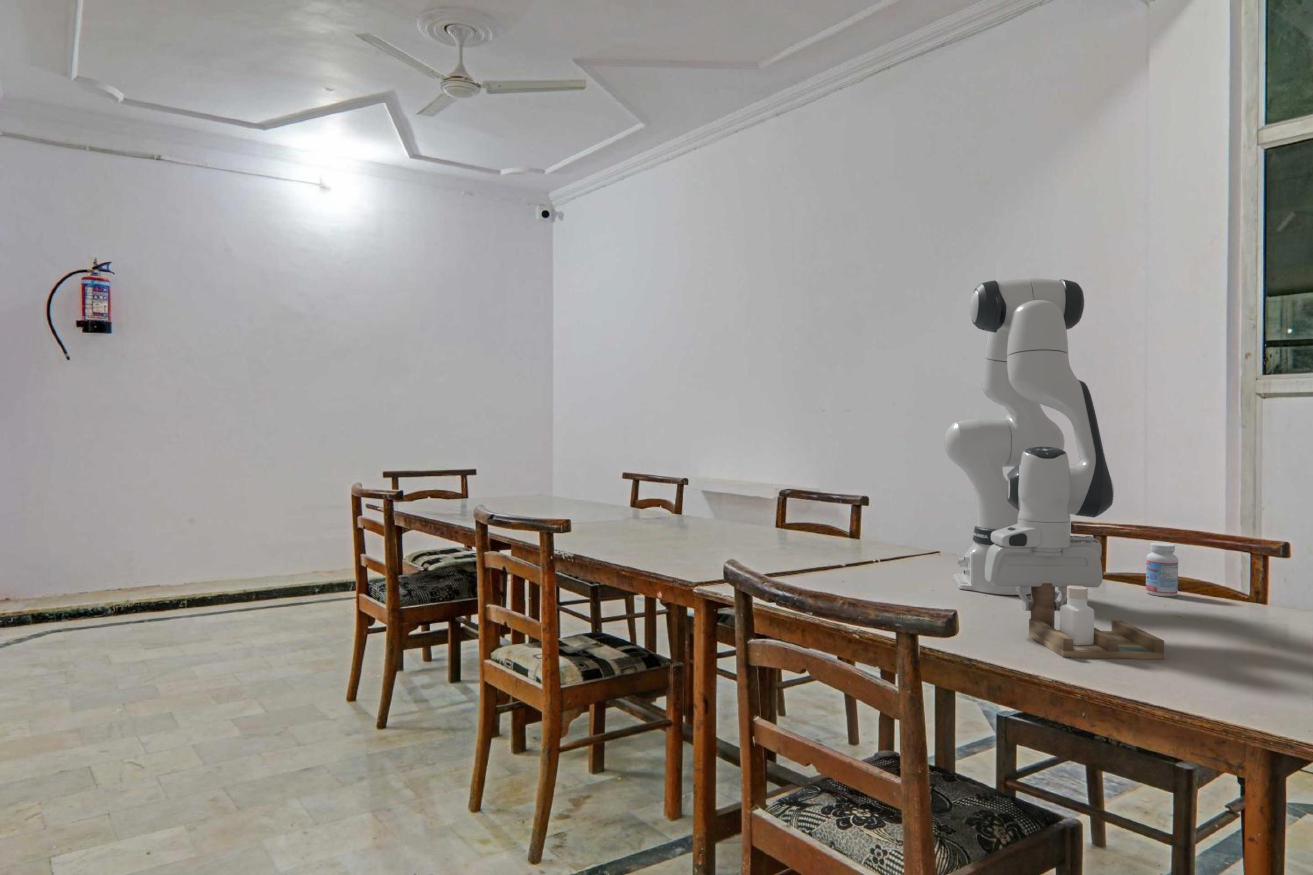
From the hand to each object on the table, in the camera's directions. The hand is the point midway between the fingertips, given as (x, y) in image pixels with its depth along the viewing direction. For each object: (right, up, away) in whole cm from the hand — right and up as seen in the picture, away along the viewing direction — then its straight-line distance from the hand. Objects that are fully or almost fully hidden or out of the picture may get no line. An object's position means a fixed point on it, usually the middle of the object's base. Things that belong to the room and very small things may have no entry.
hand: (1042, 610), depth 154 cm
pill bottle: (+41, -3, +32) cm, 53 cm away
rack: (+4, -4, -11) cm, 12 cm away
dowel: (0, -4, 0) cm, 4 cm away
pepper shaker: (0, -3, -13) cm, 13 cm away
